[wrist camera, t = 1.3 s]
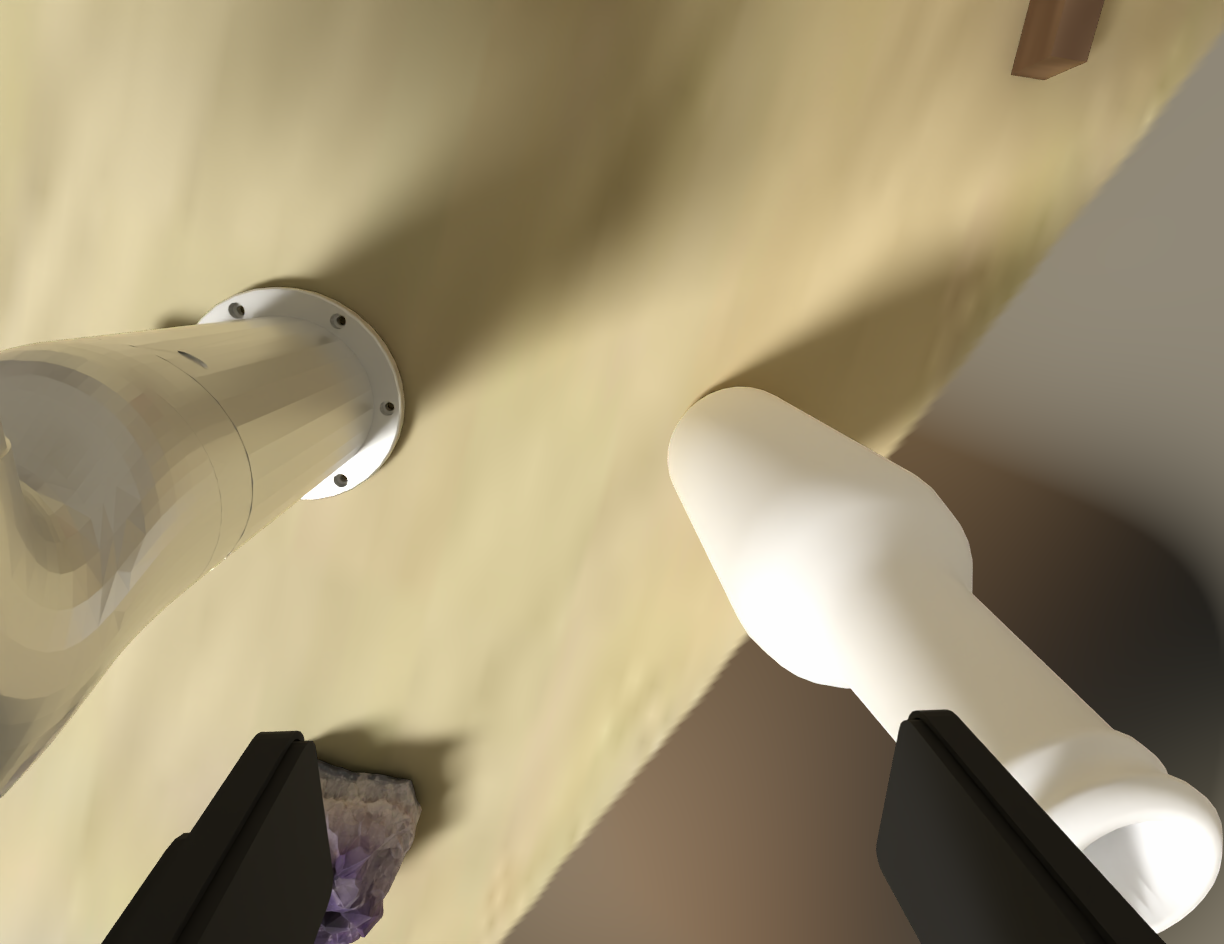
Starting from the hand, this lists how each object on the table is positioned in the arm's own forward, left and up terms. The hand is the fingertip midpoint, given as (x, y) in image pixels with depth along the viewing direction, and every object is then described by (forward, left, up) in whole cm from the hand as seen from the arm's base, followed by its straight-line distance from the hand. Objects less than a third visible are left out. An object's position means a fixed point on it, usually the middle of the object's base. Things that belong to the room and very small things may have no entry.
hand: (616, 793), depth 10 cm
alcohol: (+10, -2, -30) cm, 32 cm away
